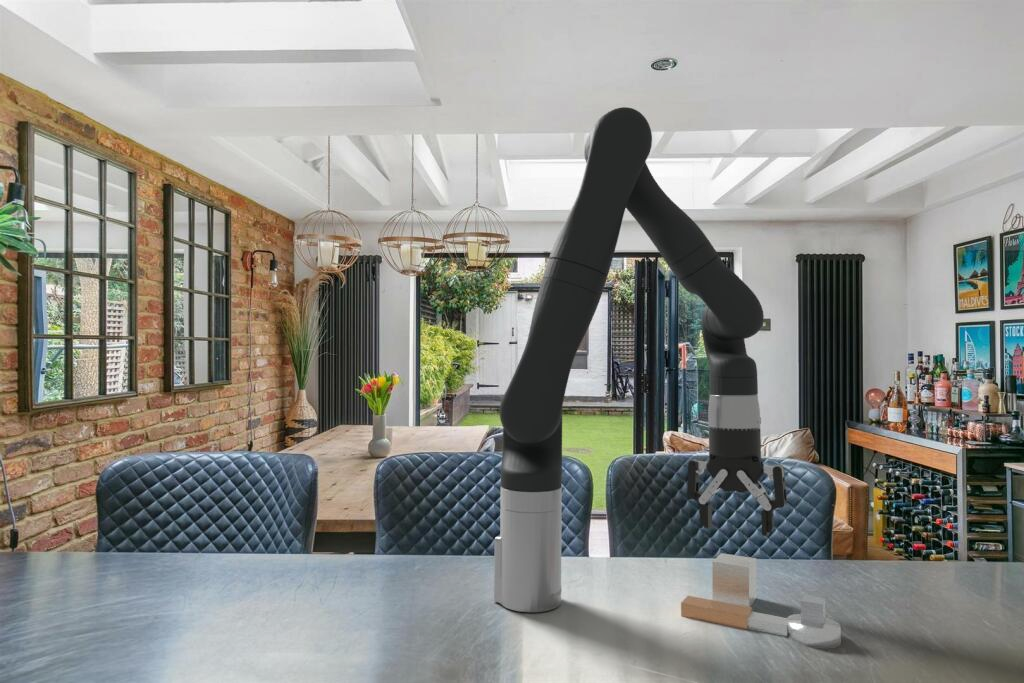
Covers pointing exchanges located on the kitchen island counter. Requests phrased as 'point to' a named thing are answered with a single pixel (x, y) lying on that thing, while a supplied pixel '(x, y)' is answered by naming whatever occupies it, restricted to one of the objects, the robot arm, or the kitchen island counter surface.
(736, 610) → the ratchet
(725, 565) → the light grey block
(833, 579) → the kitchen island counter surface
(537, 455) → the robot arm
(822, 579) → the kitchen island counter surface
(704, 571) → the kitchen island counter surface
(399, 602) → the kitchen island counter surface
